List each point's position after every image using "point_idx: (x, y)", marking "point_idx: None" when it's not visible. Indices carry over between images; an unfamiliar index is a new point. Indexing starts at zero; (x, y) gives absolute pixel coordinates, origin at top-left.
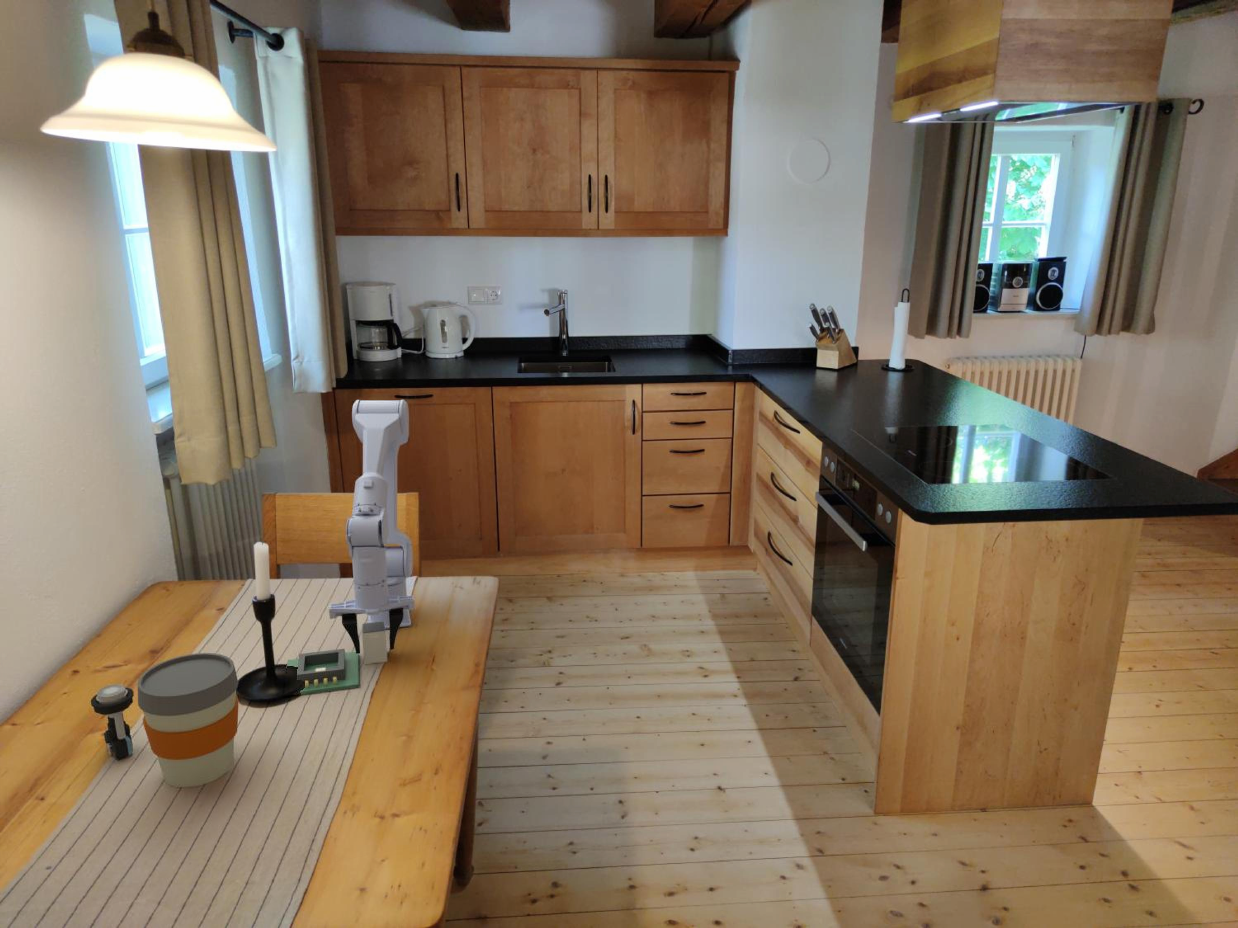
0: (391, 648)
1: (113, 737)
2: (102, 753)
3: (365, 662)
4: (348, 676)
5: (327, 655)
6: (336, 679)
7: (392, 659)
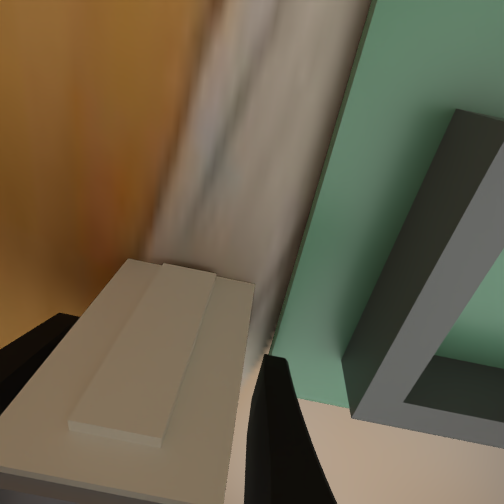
0: (67, 318)
1: None
2: None
3: (246, 288)
4: (410, 146)
5: (466, 401)
6: None
7: (100, 266)
